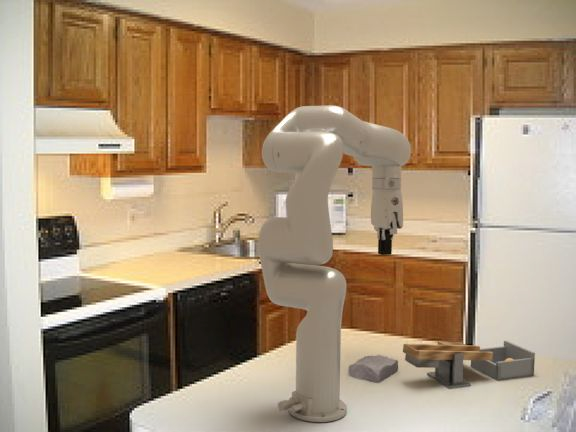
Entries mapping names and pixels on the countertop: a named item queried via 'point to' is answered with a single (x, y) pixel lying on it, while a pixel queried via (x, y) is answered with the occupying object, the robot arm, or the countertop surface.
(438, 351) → the seesaw
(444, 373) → the fulcrum
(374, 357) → the stone block
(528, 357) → the tray
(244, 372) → the countertop surface
